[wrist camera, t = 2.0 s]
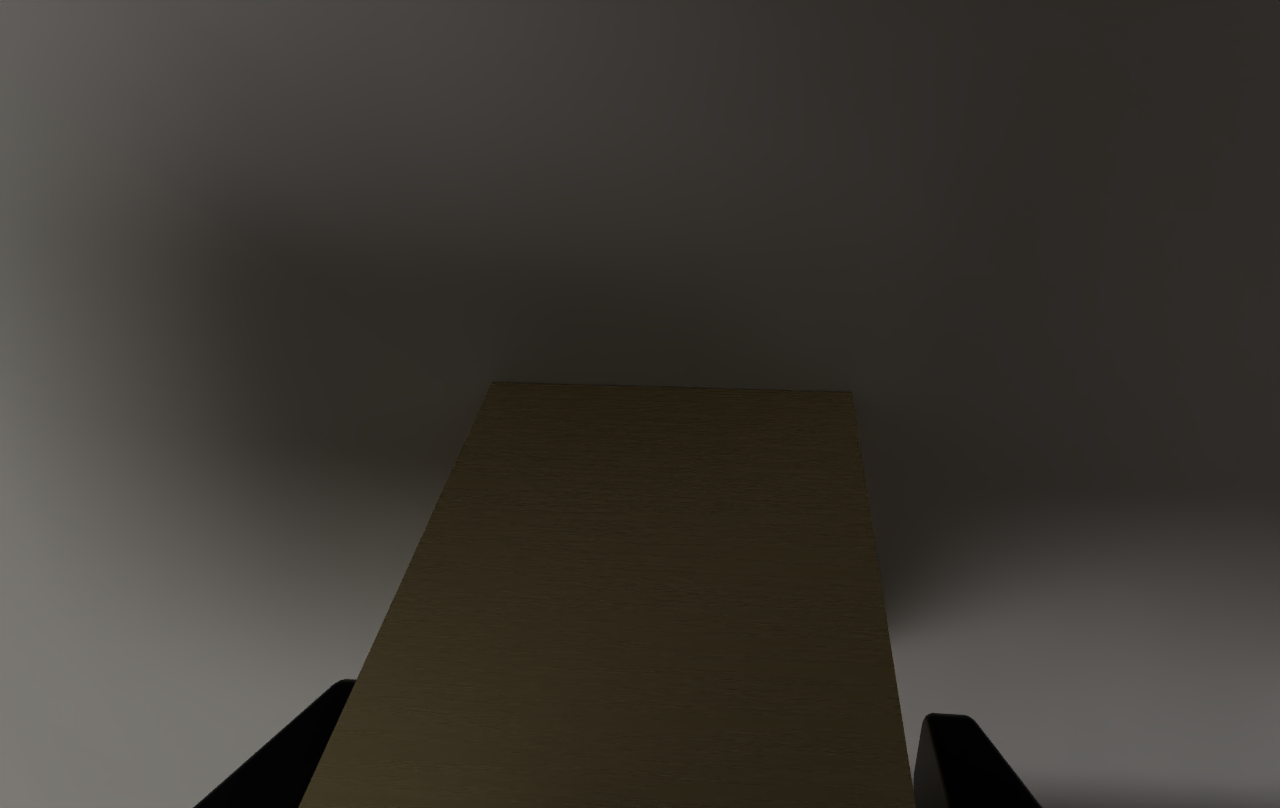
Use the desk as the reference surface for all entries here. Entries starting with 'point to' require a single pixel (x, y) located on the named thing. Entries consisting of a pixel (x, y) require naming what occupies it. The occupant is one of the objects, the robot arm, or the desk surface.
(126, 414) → the desk surface
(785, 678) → the brass square bit
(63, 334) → the desk surface
